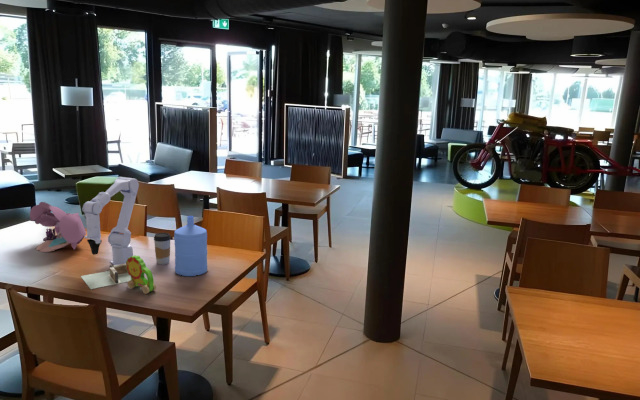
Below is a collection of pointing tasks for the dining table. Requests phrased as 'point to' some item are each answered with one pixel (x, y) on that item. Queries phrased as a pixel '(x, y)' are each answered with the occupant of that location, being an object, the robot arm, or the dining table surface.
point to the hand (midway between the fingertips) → (95, 254)
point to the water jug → (190, 249)
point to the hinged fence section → (114, 274)
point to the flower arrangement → (58, 227)
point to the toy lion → (139, 274)
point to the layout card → (104, 279)
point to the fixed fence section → (120, 268)
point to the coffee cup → (162, 247)
